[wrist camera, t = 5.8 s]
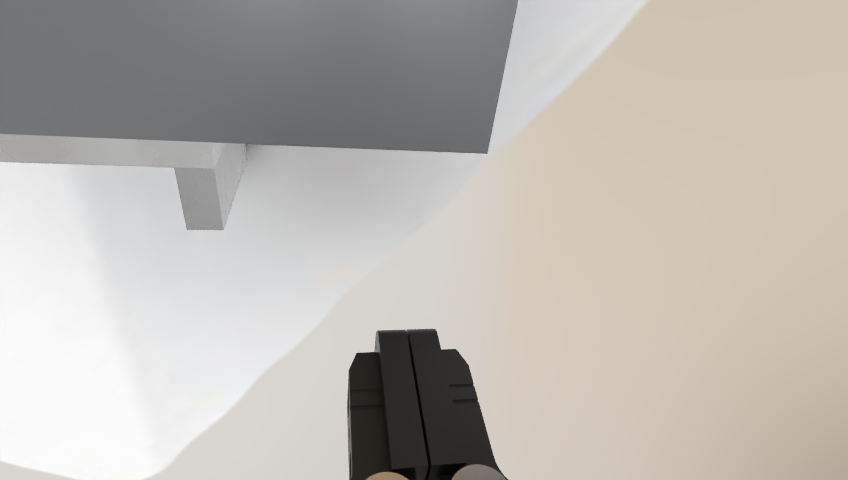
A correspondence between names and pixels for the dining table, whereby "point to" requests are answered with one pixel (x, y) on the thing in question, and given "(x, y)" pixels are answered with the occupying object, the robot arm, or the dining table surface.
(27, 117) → the camera housing
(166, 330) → the dining table surface
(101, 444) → the dining table surface
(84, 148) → the battery door
